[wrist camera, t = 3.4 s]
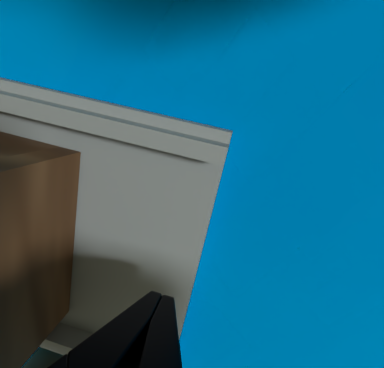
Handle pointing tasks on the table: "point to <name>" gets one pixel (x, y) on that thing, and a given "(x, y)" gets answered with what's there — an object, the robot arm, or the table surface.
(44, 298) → the block
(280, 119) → the table surface
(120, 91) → the table surface
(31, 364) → the dowel
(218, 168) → the track
